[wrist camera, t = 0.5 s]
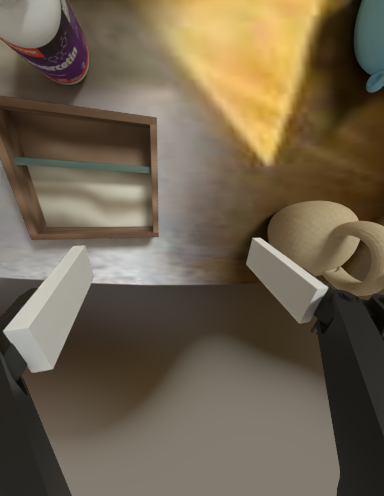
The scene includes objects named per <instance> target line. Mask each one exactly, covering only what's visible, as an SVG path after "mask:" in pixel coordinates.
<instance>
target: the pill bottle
mask: <svg viewBox="0 0 384 496" xmlns="http://www.w3.org/2000/svg"><path fill="white" fill-rule="evenodd" d="M0 39H1V40H3V41H4V42H5V43H6V44H7V45H9V46H10V47H11V48H12V49H13V50H15V51H16V52H17V53H18V54H19V55H21V56H22V57H23V58H24V59H26V60H27V61H28V62H29V63H30V64H32V65H33V66H34V67H35V68H36V69H37V70H39V71H40V72H41V73H42V74H44V75H45V76H46V77H48V78H49V79H51V80H53V81H55V82H57V83H60V84H64V85H72V84H76V83H78V82H80V81H81V80H82V79H83V78H84V77H85V75H86V74H87V71H88V68H89V50H88V46H87V42H86V39H85V37H84V34H83V32H82V30H81V28H80V26H79V24H78V22H77V20H76V18H75V16H74V14H73V12H72V10H71V8H70V6H69V4H68V2H67V0H0Z"/></svg>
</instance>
